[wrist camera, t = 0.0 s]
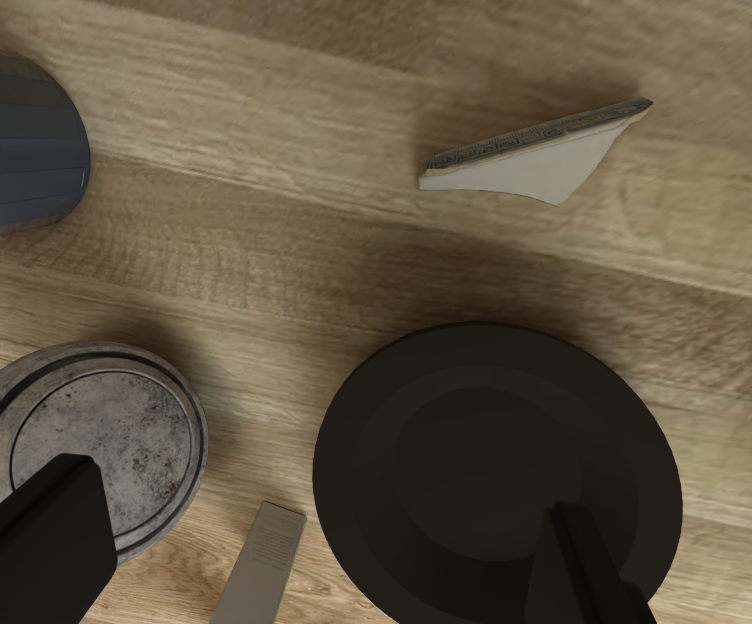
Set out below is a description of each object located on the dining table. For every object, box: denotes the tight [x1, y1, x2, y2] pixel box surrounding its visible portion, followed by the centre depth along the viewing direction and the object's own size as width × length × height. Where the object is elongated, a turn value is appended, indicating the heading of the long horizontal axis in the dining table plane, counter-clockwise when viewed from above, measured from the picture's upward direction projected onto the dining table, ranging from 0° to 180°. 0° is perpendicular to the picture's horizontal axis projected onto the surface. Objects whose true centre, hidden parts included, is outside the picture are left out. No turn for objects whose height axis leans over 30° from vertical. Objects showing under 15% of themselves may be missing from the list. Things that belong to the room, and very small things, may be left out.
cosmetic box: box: [209, 502, 307, 624], centre depth 37 cm, size 6×4×12 cm
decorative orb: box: [0, 341, 209, 566], centre depth 32 cm, size 15×14×15 cm
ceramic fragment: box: [418, 97, 653, 207], centre depth 28 cm, size 14×5×4 cm, turn 104°
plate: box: [312, 321, 683, 624], centre depth 35 cm, size 28×24×6 cm
